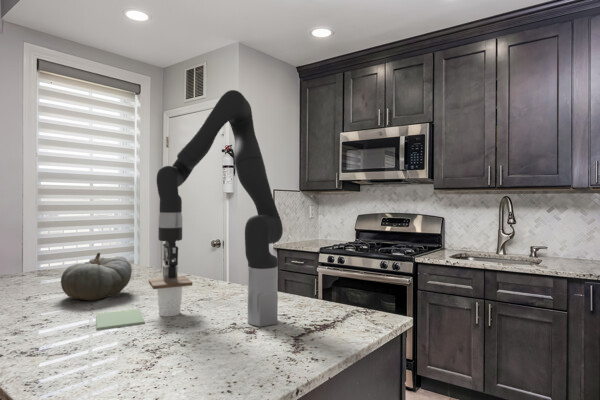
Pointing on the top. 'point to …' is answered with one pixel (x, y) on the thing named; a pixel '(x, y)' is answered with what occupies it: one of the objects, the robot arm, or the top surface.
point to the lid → (169, 280)
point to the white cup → (169, 301)
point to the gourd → (96, 278)
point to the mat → (119, 319)
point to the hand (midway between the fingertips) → (170, 276)
